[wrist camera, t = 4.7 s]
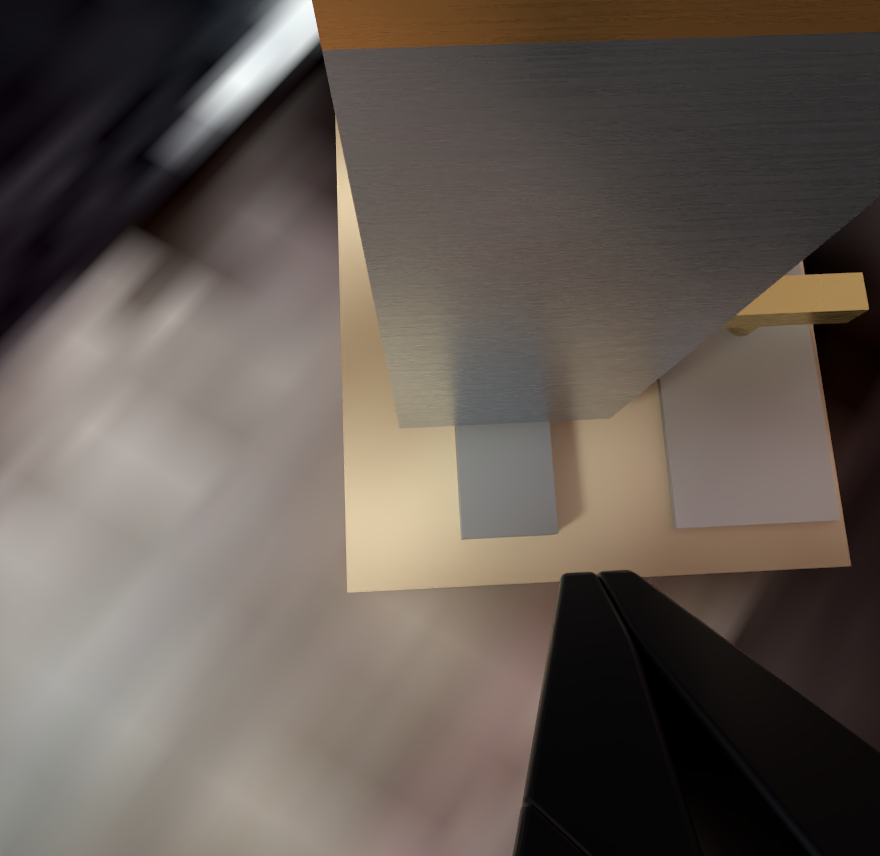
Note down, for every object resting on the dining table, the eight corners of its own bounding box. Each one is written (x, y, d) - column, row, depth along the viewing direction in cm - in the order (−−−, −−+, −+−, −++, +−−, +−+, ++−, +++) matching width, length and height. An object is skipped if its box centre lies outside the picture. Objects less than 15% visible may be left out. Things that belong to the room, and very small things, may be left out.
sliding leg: (838, 413, 16) (2288, -135, 3) (400, 434, 15) (295, -77, 3) (807, 227, 16) (1889, -741, 4) (392, 244, 16) (285, -731, 4)
